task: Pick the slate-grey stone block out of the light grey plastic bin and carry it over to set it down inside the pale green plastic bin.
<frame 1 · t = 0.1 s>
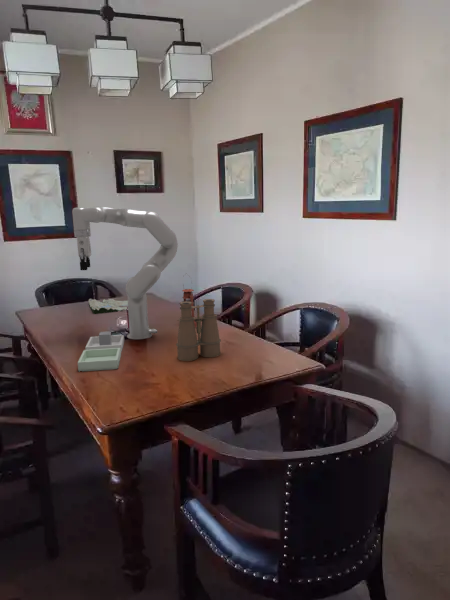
hand: (85, 268, 217), 37 cm above the table, tool pointing down, fingers open, 9 cm apart
binoculars: (199, 355, 199), on the table
topographic map model: (118, 307, 297), on the table
lantern: (189, 326, 247), on the table
stone block: (106, 347, 210), point 1 cm above the table, touching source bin
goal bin: (100, 363, 191), on the table
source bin: (106, 348, 211), on the table
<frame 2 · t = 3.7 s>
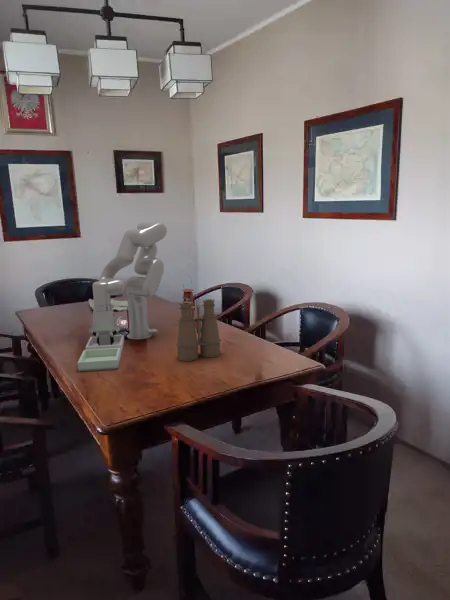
hand: (105, 344, 210), 2 cm above the table, tool pointing down, fingers closed on stone block, 5 cm apart
stone block: (105, 347, 210), point 1 cm above the table, touching gripper, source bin
everything else where it was.
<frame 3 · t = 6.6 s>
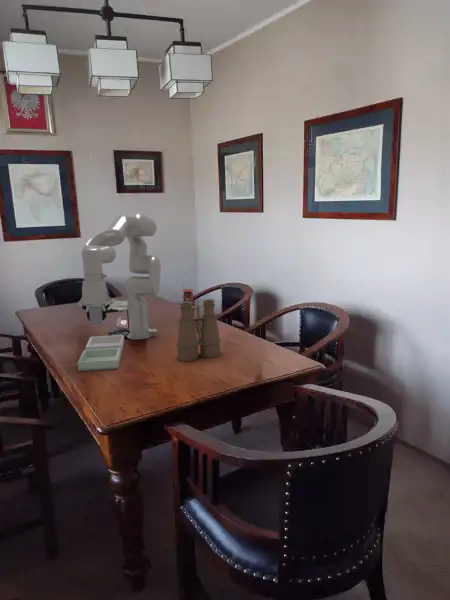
hand: (97, 319, 187), 20 cm above the table, tool pointing down, fingers closed on stone block, 5 cm apart
stone block: (97, 322, 188), point 18 cm above the table, touching gripper
everything else where it was.
when the fingers open (4 cm above the table, at t = 10.0 s): stone block drops 2 cm, resting on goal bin.
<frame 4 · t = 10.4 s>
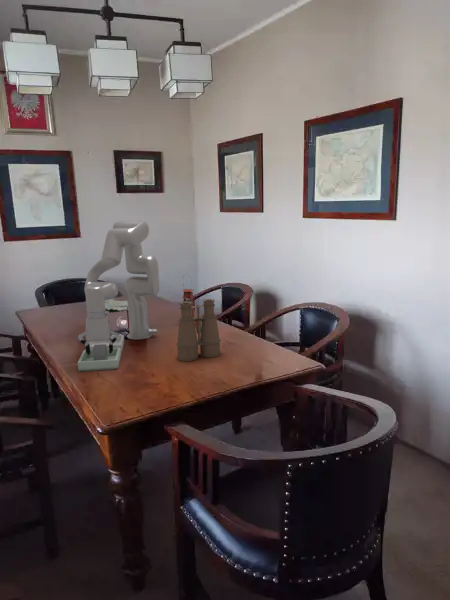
hand: (99, 353, 190), 5 cm above the table, tool pointing down, fingers open, 8 cm apart
stone block: (100, 361, 191), point 1 cm above the table, touching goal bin
everything else where it was.
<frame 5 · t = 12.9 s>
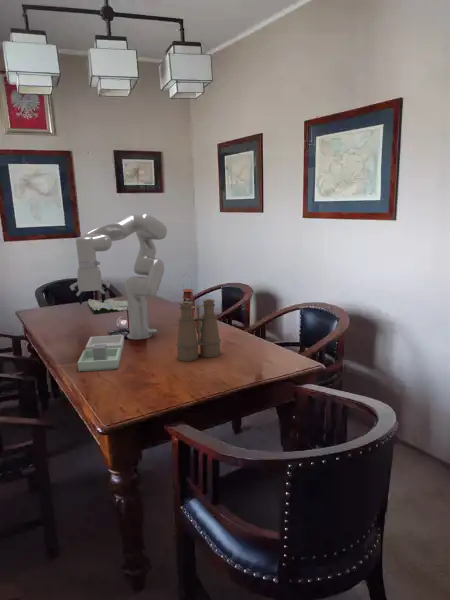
hand: (92, 302, 197), 25 cm above the table, tool pointing down, fingers open, 9 cm apart
nothing on the table moved.
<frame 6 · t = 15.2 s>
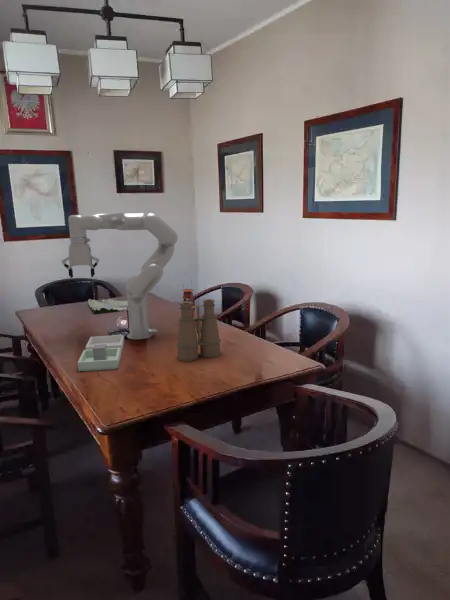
hand: (82, 277, 213), 33 cm above the table, tool pointing down, fingers open, 9 cm apart
nothing on the table moved.
at the end: stone block inside the target area on the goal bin (0.1 cm from its centre), point 0.8 cm above the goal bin's base; stone block tilted 0°; the gripper is holding nothing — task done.
